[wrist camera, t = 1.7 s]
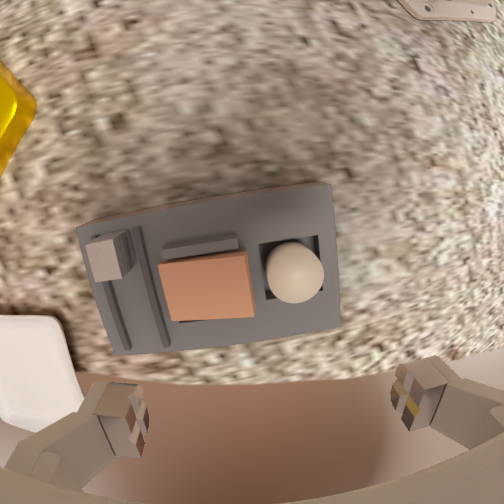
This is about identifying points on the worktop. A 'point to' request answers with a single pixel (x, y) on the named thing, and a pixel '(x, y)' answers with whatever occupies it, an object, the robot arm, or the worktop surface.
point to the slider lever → (111, 255)
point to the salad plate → (36, 372)
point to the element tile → (13, 114)
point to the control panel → (209, 243)
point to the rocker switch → (208, 287)
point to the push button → (293, 272)
